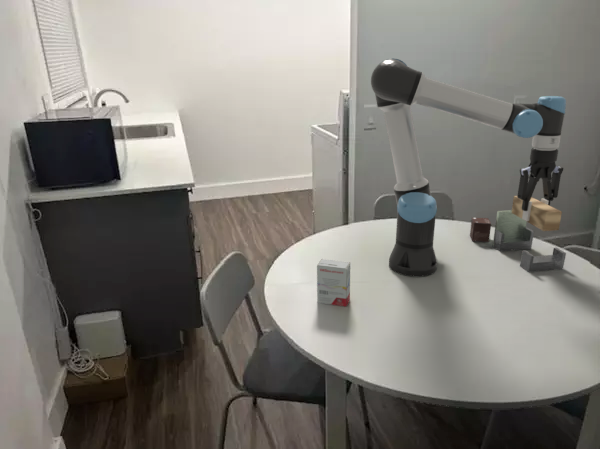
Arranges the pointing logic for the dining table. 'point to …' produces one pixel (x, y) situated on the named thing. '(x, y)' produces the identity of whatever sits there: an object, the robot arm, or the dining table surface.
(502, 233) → the cup bracket
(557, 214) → the light wood long block
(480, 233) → the box
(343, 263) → the ink box
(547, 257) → the rest saddle
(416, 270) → the robot arm
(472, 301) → the dining table surface
